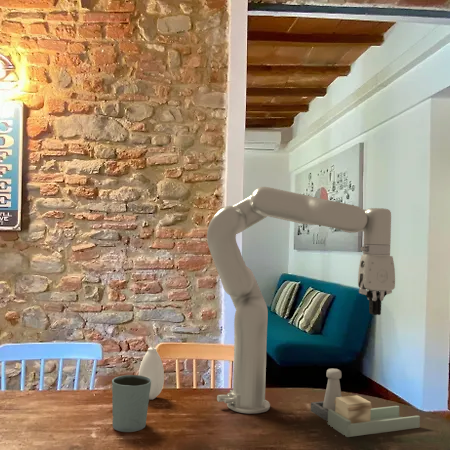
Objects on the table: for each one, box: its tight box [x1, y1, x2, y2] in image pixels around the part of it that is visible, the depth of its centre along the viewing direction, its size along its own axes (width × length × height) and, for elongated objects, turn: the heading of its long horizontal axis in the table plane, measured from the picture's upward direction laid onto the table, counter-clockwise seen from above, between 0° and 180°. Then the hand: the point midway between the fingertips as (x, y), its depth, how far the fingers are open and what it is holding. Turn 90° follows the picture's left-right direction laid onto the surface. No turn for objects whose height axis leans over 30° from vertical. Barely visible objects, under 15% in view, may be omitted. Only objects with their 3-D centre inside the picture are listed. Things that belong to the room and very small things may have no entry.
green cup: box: [111, 374, 151, 433], centre depth 137 cm, size 10×10×12 cm
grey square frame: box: [310, 400, 328, 422], centre depth 150 cm, size 10×10×2 cm
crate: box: [334, 394, 373, 424], centre depth 139 cm, size 7×7×7 cm
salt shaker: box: [323, 368, 343, 411], centre depth 150 cm, size 6×6×13 cm
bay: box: [327, 405, 421, 438], centre depth 142 cm, size 23×9×4 cm, turn 111°
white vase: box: [137, 339, 165, 401], centre depth 159 cm, size 8×8×18 cm
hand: (374, 314), depth 151 cm, fingers closed
